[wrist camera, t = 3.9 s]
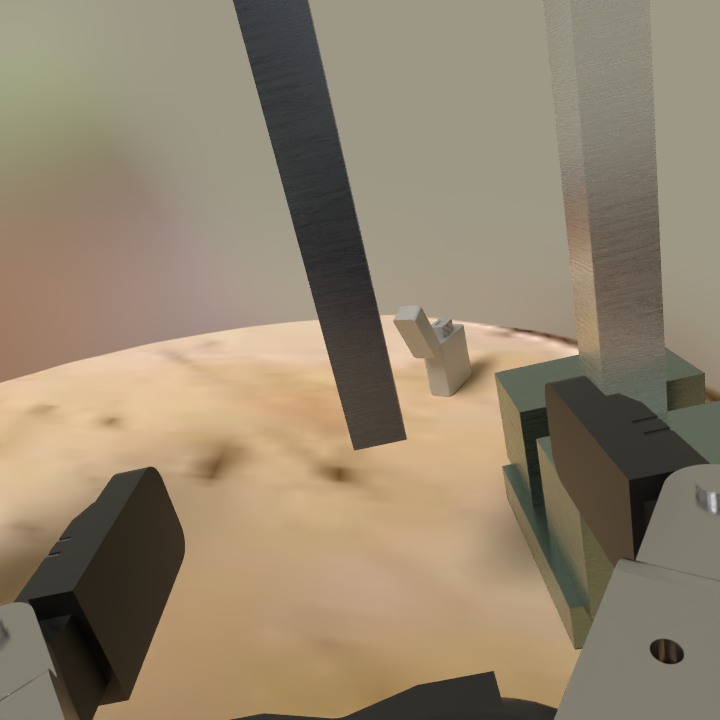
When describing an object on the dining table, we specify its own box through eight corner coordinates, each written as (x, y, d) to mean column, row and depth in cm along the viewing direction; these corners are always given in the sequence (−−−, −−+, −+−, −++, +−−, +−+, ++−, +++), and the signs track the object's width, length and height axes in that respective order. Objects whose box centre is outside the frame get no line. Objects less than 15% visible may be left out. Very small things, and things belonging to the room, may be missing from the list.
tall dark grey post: (407, 439, 22) (242, -290, 14) (354, 450, 22) (161, -267, 14) (392, 369, 28) (271, -170, 20) (351, 378, 28) (214, -155, 20)
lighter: (453, 372, 48) (436, 279, 46) (472, 373, 47) (456, 278, 45) (412, 413, 43) (390, 312, 40) (433, 415, 42) (412, 311, 39)
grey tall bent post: (833, 620, 21) (922, -489, 11) (331, 713, 22) (11, -223, 12) (632, 421, 36) (594, -132, 26) (337, 482, 37) (194, -26, 27)
